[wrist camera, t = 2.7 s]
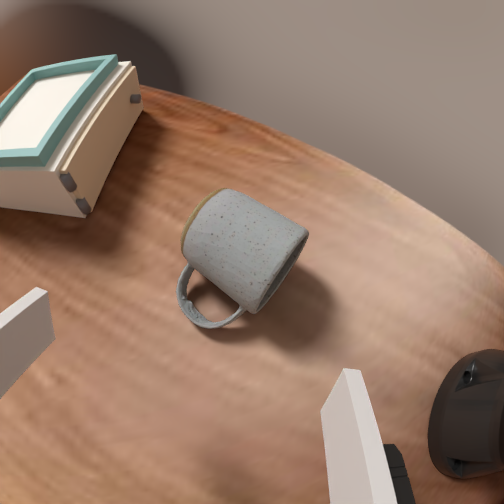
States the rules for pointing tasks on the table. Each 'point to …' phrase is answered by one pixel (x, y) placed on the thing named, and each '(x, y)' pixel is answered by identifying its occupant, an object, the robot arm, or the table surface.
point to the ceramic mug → (237, 251)
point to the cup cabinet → (65, 133)
